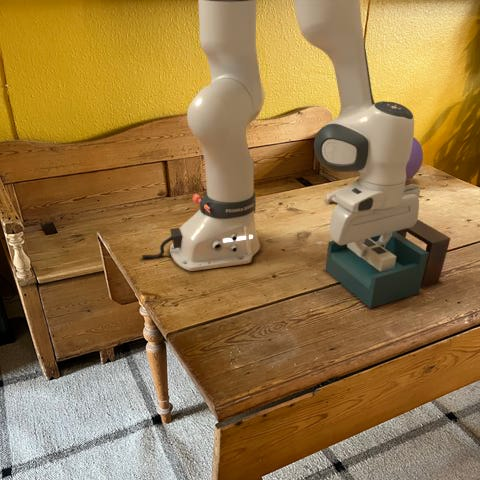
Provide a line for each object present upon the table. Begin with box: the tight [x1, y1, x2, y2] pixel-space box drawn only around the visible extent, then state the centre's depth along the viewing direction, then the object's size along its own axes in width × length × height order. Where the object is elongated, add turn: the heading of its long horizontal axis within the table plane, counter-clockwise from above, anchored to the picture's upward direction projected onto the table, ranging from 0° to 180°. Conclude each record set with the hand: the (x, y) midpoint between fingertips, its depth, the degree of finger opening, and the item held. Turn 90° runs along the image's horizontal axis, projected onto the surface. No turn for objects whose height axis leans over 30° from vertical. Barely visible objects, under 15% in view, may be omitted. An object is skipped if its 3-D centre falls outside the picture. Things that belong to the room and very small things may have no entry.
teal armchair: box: [325, 232, 429, 309], centre depth 109 cm, size 13×17×10 cm
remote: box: [347, 238, 396, 272], centre depth 107 cm, size 4×12×3 cm, turn 25°
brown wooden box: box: [395, 219, 452, 288], centre depth 113 cm, size 5×14×11 cm, turn 25°
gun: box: [325, 187, 344, 204], centre depth 147 cm, size 18×3×10 cm
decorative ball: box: [405, 136, 424, 183], centre depth 154 cm, size 15×15×15 cm
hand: (370, 252), depth 107 cm, fingers closed on remote, 3 cm apart
